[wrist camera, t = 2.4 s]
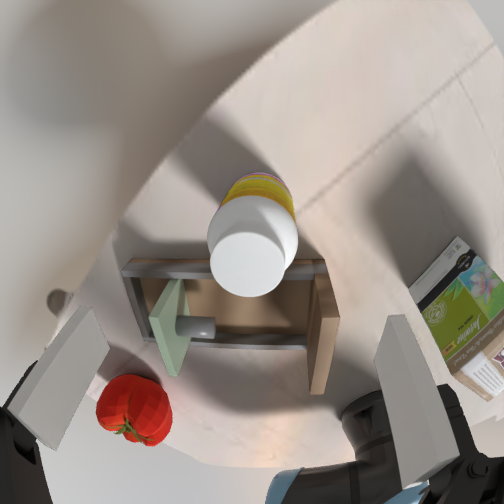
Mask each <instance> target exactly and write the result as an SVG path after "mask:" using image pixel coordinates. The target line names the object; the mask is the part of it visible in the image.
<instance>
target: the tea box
mask: <svg viewBox="0 0 504 504" xmlns="http://www.w3.org/2000/svg"><path fill="white" fill-rule="evenodd" d="M409 293H410V295H411V296H412V298H413V300H414V302H415V304H416V305H417V307H418V309H419V310H420V313H421V314H422V316H423V318H424V320H425V322H426V324H427V325H428V327H429V329H430V331H431V334H432V336H433V338H434V340H435V342H436V344H437V345H438V347H439V350H440V352H441V354H442V356H443V359H444V361H445V363H446V365H447V367H448V369H449V371H450V373H451V375H452V376H453V377H454V378H455V379H456V380H458V381H459V382H461V383H462V384H463V385H465V386H466V387H468V388H469V389H470V390H472V391H474V392H475V393H476V394H478V395H479V396H480V397H482V398H483V399H485V400H486V401H487V402H489V401H490V400H491V399H493V398H494V397H495V396H496V395H497V394H499V393H500V392H501V391H502V390H503V389H504V282H503V281H502V280H501V279H500V278H499V277H498V275H497V274H496V273H495V272H494V271H493V270H492V269H491V268H490V267H489V266H488V265H487V264H486V263H485V262H484V261H483V260H482V259H481V257H479V256H478V255H477V254H476V253H475V252H474V251H473V250H472V249H471V248H470V247H469V246H468V245H467V244H466V243H465V242H464V241H463V240H462V239H461V238H460V237H459V236H457V237H456V238H455V239H454V240H453V241H452V242H451V244H450V245H449V246H448V247H447V248H446V249H445V250H444V251H443V252H442V253H441V254H440V256H439V257H438V258H437V259H436V260H435V261H434V262H433V263H432V264H431V265H430V266H429V267H428V269H427V270H426V271H425V272H424V273H423V274H422V275H421V276H420V277H419V278H418V279H417V280H416V281H415V282H414V283H413V284H412V285H411V286H410V287H409Z"/></svg>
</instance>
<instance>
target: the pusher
mask: <svg viewBox="0 0 504 504" xmlns="http://www.w3.org/2000/svg"><path fill="white" fill-rule="evenodd" d="M149 320H150V324H151V327H152V330H153V333H154V336H155V339H156V341H157V344H158V347H159V350H160V353H161V356H162V358H163V361H164V364H165V366H166V369H167V372H168V374H169V376H172V377H178V374H179V372H180V369H181V366H182V363H183V360H184V357H185V354H186V351H187V349H188V346H189V343H190V340H191V337H195V338H210V339H214V337H215V333H216V320H215V317H207V316H190V311H189V307H188V302H187V297H186V292H185V287H184V282H183V279H172V278H171V279H170V280H169V282H168V284H167V286H166V287H165V289H164V291H163V292H162V294H161V296H160V298H159V299H158V301H157V303H156V305H155V306H154V308H153V310H152V312H151V313H150V315H149Z"/></svg>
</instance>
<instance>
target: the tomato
mask: <svg viewBox="0 0 504 504" xmlns="http://www.w3.org/2000/svg"><path fill="white" fill-rule="evenodd" d="M96 415H97V419H98V422H99V423H100V425H101V426H102V427H103V428H105V429H106V430H109V431H118V432H117V433H115V434H121V433H123V435H124V436H125V438H126V439H127V440H129V441H131V442H141V443H142V442H143V443H144V444H145V445H146V446H155V445H157V444H158V443H160V442H162V441H163V440H164V438H165V437H166V436H167V434H168V433H169V432H170V429H171V425H172V410H171V406H170V403H169V399H168V396H167V393H166V392H165V391H164V390H163V389H162V388H161V386H160V385H158V384H157V383H155V382H154V381H152V380H148V379H145V378H143V377H140V376H138V375H133V374H126V375H121V376H118V377H116V378H114V379H112V380H111V381H110V382H109V383H108V385H107V386H106V387H105V388H104V390H103V392H102V394H101V396H100V398H99V400H98V402H97V407H96Z"/></svg>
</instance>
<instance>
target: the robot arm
mask: <svg viewBox="0 0 504 504" xmlns="http://www.w3.org/2000/svg"><path fill="white" fill-rule="evenodd" d="M109 350H110V347H109V345H108V343H107V341H106V339H105V336H104V334H103V332H102V330H101V328H100V325H99V323H98V321H97V318H96V316H95V314H94V311H93V309H92V307H85V306H80V307H79V308H78V309H77V311H76V312H75V313H74V314H73V316H72V317H71V318H70V319H69V321H68V322H67V323H66V324H65V326H64V327H63V328H62V330H61V331H60V332H59V333H58V335H57V336H56V337H55V339H54V340H53V341H52V343H51V344H50V345H49V347H48V348H47V349H46V351H45V352H44V354H43V355H42V356H41V358H40V359H39V361H38V360H37V361H36V362H34V363H33V364H32V365H31V366H29V368H28V369H27V370H26V372H25V373H24V376H23V377H22V378H21V379H20V381H19V383H18V384H17V385H16V387H15V388H14V390H13V391H12V393H11V394H10V396H9V398H8V399H7V401H6V402H5V404H4V405H3V407H2V408H1V407H0V504H53V502H52V499H51V496H50V493H49V489H48V486H47V482H46V478H45V474H44V471H43V466H42V462H41V457H40V452H39V447H38V444H37V443H36V442H35V441H36V439H38V440H39V441H41V442H42V443H43V444H44V445H45V446H47V447H49V448H51V449H53V450H55V451H57V449H58V447H59V444H60V442H61V440H62V438H63V436H64V434H65V432H66V430H67V428H68V426H69V424H70V422H71V420H72V418H73V416H74V414H75V412H76V410H77V408H78V406H79V404H80V402H81V400H82V398H83V397H84V395H85V393H86V391H87V389H88V387H89V385H90V384H91V382H92V380H93V378H94V376H95V374H96V373H97V371H98V369H99V367H100V366H101V364H102V362H103V360H104V359H105V357H106V355H107V353H108V352H109ZM374 363H375V366H376V370H377V374H378V377H379V381H380V385H381V388H382V390H380V391H377V392H374V393H371V394H369V395H366V396H364V397H362V398H360V399H358V400H356V401H355V402H353V403H352V404H351V405H349V406H348V407H347V408H346V409H345V410H344V412H343V414H342V416H341V420H342V427H343V430H344V432H345V434H346V436H347V438H348V439H349V441H350V443H351V445H352V447H353V449H354V451H355V458H356V461H353V462H347V463H342V464H336V465H330V466H322V467H313V468H304V467H303V468H300V469H294V470H286V471H281V472H279V473H278V474H277V475H276V476H275V477H274V478H273V480H272V482H271V484H270V487H269V489H268V493H267V496H266V501H265V504H504V457H495V458H488V457H487V456H486V455H484V454H483V453H479V451H478V450H477V448H476V446H475V444H474V441H473V438H472V435H471V432H470V429H469V426H468V423H467V421H466V418H465V415H463V414H464V412H463V410H462V407H460V402H459V400H458V397H457V395H456V393H455V392H454V390H453V389H452V388H451V387H450V386H449V385H448V384H443V385H438V386H436V384H435V381H434V379H433V376H432V374H431V372H430V369H429V367H428V365H427V362H426V360H425V358H424V355H423V353H422V351H421V349H420V346H419V344H418V342H417V340H416V338H415V336H414V333H413V331H412V329H411V327H410V325H409V323H408V321H407V319H406V317H405V315H404V314H403V315H389V316H388V318H387V321H386V325H385V328H384V331H383V334H382V337H381V340H380V343H379V346H378V349H377V352H376V355H375V358H374ZM428 479H429V484H430V485H428V483H427V480H428Z"/></svg>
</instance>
